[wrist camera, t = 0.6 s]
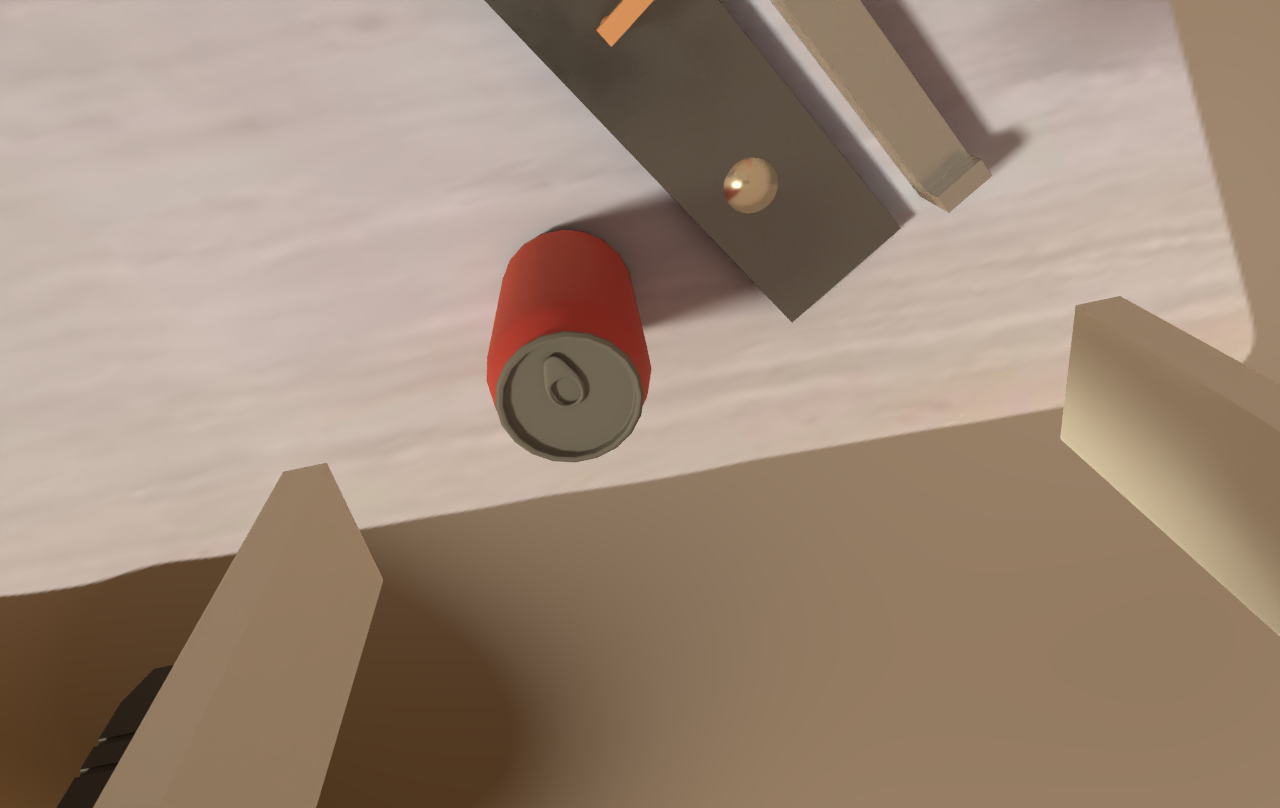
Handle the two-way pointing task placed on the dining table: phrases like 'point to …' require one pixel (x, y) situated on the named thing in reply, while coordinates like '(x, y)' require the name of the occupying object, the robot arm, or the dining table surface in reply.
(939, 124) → the beam
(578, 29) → the hole plate
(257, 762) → the robot arm
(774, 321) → the dining table surface
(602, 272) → the beer can
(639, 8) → the block
